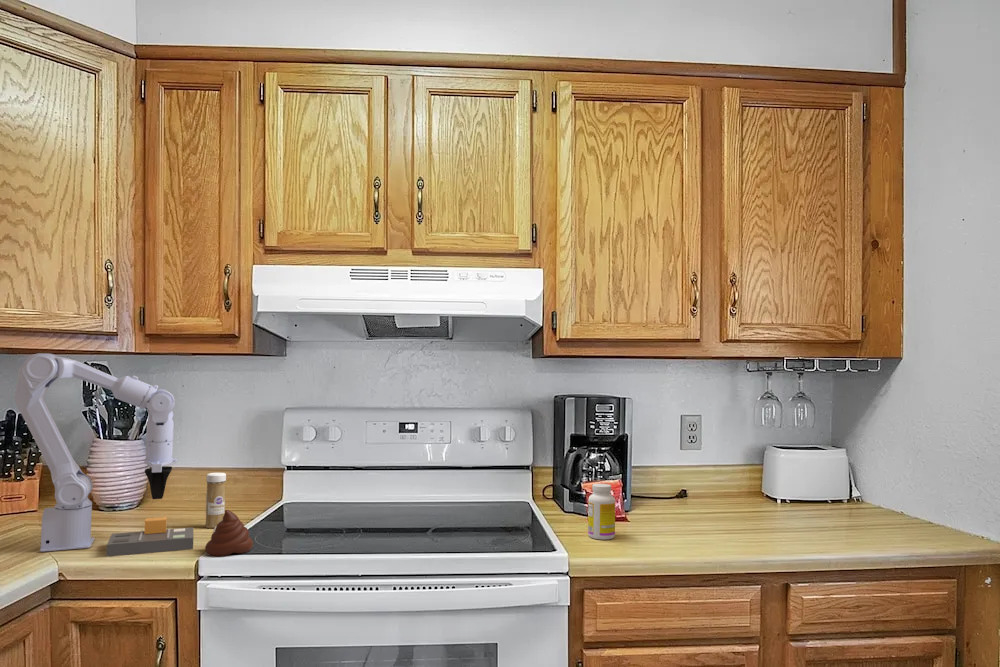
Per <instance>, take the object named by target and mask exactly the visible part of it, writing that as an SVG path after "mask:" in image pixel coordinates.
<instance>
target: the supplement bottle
mask: <svg viewBox="0 0 1000 667" xmlns="http://www.w3.org/2000/svg"><path fill="white" fill-rule="evenodd" d="M591 488H592V489H591V490H592V494H590V495H589V497H588V499H587V500H588V503H587V504H588V506H587V507H588V510H587V511H588V512H587V513H588V514H587V526H588V527H587V532H588V533H587V534H588V536H589V537H590V538H591V539H595V540H602V541H606V540H611V539H614V538H615V537H616V498H615V497H614V496H613V495H612V494H611V492H612V485H611V484H608V483H593V484H592V487H591Z"/></svg>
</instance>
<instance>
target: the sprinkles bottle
mask: <svg viewBox="0 0 1000 667" xmlns="http://www.w3.org/2000/svg"><path fill="white" fill-rule="evenodd" d="M226 481H227V474H226V473H225V472H210V473H207V475H206V496H205V497H206V500H205V525H204V527H205V528H206V529H214V528H215V527H216V526H217V524H218V523H219V522H221V521H222V520H223V516H224V514H225V510H226V508H225V504H226V498H225V497H226V491H225V490H226Z"/></svg>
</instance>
